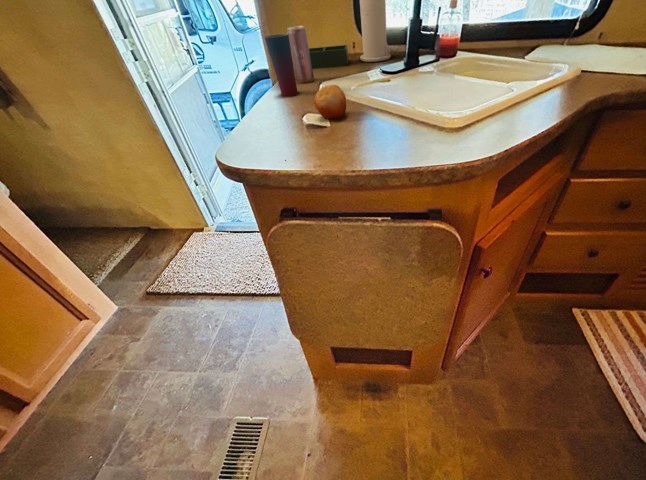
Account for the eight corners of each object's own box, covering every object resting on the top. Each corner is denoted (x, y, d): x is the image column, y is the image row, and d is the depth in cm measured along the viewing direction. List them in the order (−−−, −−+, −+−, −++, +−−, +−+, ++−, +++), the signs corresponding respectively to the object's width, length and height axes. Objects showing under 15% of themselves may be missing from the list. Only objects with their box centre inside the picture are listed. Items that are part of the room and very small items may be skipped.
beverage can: (315, 78, 112) (305, 25, 101) (313, 82, 108) (303, 27, 97) (298, 79, 112) (287, 26, 102) (296, 84, 108) (284, 29, 97)
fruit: (353, 103, 83) (345, 78, 75) (347, 129, 81) (338, 105, 74) (325, 103, 85) (314, 78, 77) (319, 128, 83) (307, 105, 76)
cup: (298, 96, 97) (285, 36, 86) (277, 98, 97) (261, 38, 87) (302, 90, 102) (290, 32, 91) (281, 91, 102) (267, 34, 92)
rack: (348, 60, 130) (347, 44, 126) (347, 65, 123) (345, 49, 119) (306, 64, 130) (303, 48, 127) (303, 69, 124) (300, 53, 120)
